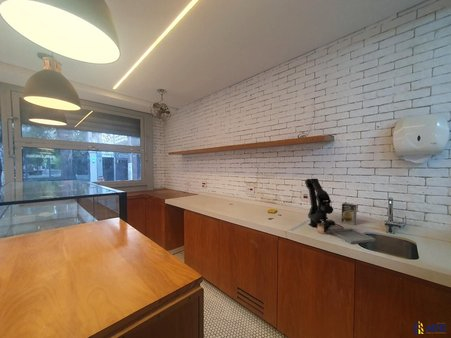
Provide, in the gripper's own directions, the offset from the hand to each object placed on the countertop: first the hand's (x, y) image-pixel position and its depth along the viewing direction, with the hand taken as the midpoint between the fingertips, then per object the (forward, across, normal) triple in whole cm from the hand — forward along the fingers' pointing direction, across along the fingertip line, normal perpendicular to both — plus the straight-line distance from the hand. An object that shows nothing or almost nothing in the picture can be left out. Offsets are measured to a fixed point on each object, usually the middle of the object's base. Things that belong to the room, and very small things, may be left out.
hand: (322, 231), depth 133 cm
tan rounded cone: (+1, 0, 0) cm, 1 cm away
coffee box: (+2, -14, +36) cm, 39 cm away
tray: (+1, +11, +14) cm, 18 cm away
